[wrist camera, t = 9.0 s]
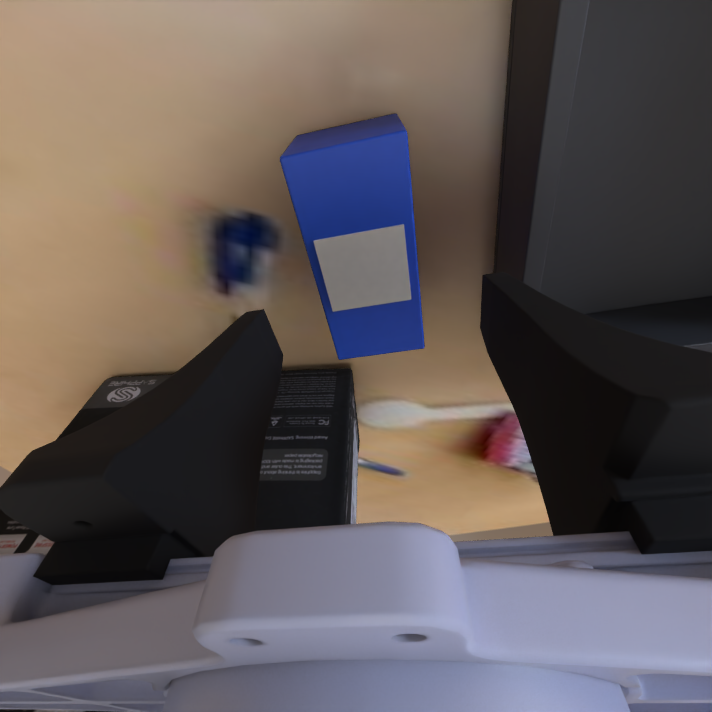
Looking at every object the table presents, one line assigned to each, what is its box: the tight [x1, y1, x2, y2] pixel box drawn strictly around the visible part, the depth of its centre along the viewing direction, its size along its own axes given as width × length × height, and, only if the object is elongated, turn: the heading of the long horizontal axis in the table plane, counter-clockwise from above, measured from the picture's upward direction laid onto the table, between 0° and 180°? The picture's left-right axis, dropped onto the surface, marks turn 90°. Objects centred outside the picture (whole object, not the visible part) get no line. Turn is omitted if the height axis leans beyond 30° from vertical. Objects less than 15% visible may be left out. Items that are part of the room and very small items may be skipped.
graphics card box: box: [0, 368, 360, 712], centre depth 15 cm, size 17×7×27 cm, turn 95°
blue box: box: [280, 114, 425, 360], centre depth 16 cm, size 9×4×4 cm, turn 11°
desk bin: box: [493, 0, 712, 353], centre depth 13 cm, size 17×14×4 cm
